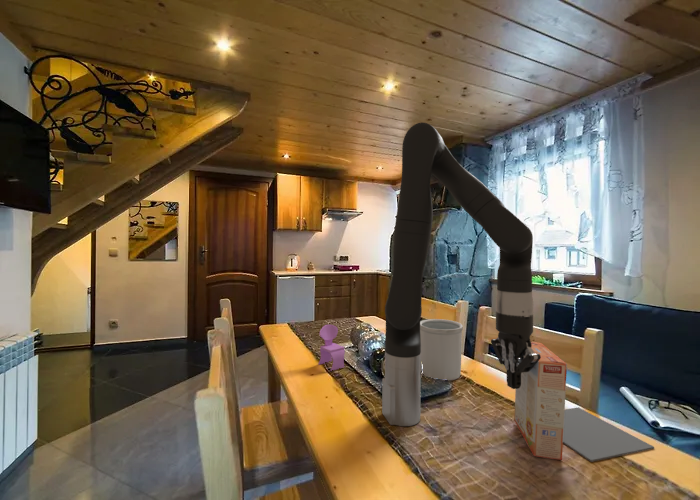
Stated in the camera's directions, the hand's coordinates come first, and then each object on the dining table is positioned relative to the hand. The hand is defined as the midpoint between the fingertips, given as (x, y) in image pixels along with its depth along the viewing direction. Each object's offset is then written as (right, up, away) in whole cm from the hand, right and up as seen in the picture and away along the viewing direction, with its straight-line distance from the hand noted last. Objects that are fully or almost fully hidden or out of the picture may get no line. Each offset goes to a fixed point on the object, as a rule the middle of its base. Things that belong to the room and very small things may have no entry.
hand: (513, 387), depth 73 cm
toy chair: (-44, -13, +48) cm, 66 cm away
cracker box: (+6, -13, +2) cm, 15 cm away
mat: (+20, -13, +5) cm, 24 cm away
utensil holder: (-5, -13, +41) cm, 44 cm away
